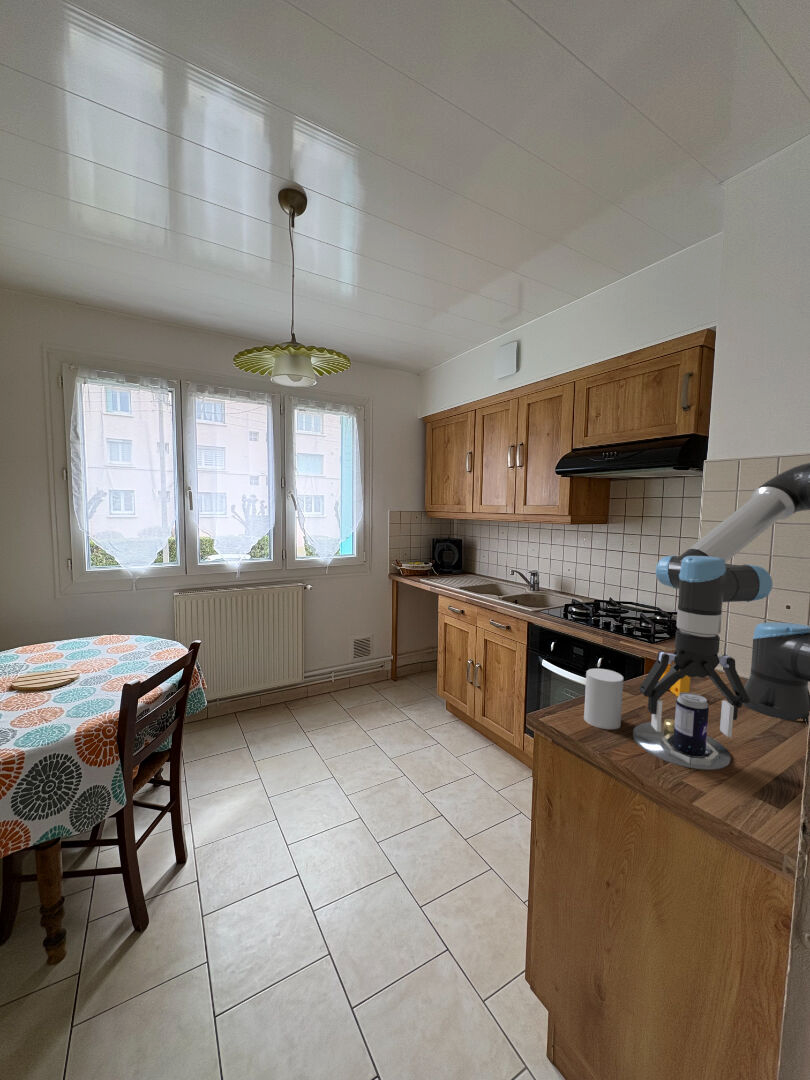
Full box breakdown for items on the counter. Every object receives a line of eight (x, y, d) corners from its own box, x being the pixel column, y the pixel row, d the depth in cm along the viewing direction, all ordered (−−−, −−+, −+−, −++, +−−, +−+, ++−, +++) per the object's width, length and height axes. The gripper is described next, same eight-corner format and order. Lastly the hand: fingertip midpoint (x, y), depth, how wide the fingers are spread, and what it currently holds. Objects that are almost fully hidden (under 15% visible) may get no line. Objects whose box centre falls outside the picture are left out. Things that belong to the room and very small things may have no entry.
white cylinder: (625, 722, 107) (627, 674, 106) (613, 735, 101) (616, 684, 100) (591, 711, 112) (593, 666, 111) (578, 722, 106) (581, 674, 106)
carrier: (701, 730, 104) (702, 713, 103) (750, 776, 86) (752, 756, 86) (621, 724, 106) (622, 707, 106) (652, 768, 88) (654, 748, 88)
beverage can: (705, 763, 88) (710, 706, 87) (672, 754, 91) (676, 699, 90) (704, 750, 93) (708, 695, 92) (672, 742, 96) (676, 689, 95)
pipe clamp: (650, 680, 134) (652, 659, 134) (665, 680, 134) (666, 660, 133) (672, 697, 122) (674, 674, 122) (688, 698, 122) (690, 675, 121)
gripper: (752, 629, 92) (743, 726, 94) (626, 623, 95) (621, 717, 97) (777, 640, 85) (768, 746, 86) (640, 633, 88) (634, 735, 89)
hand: (690, 731), depth 92 cm, fingers open, 13 cm apart
